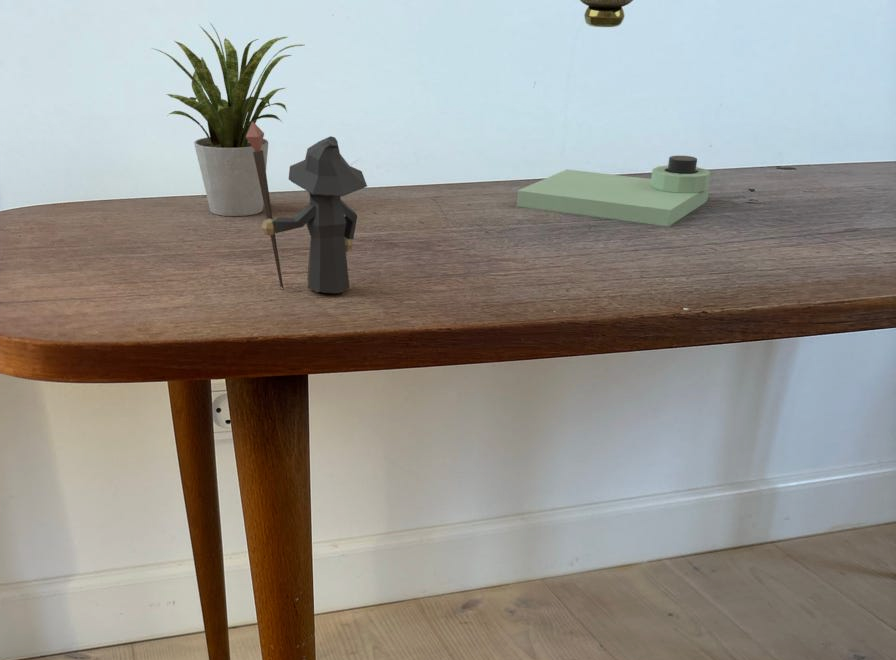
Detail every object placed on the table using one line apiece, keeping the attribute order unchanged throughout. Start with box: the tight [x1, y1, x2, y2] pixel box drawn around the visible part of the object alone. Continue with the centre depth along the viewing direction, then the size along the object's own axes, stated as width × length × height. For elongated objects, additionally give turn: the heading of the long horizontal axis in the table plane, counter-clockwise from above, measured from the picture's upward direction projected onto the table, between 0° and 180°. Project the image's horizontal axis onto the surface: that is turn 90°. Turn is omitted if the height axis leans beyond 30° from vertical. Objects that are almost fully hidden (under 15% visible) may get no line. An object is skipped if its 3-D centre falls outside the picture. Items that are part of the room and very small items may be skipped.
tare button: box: [667, 155, 698, 174], centre depth 107 cm, size 3×3×2 cm
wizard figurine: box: [246, 121, 368, 294], centre depth 79 cm, size 8×6×12 cm
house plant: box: [151, 22, 304, 217], centre depth 100 cm, size 14×14×16 cm
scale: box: [516, 164, 712, 227], centre depth 108 cm, size 16×13×3 cm
